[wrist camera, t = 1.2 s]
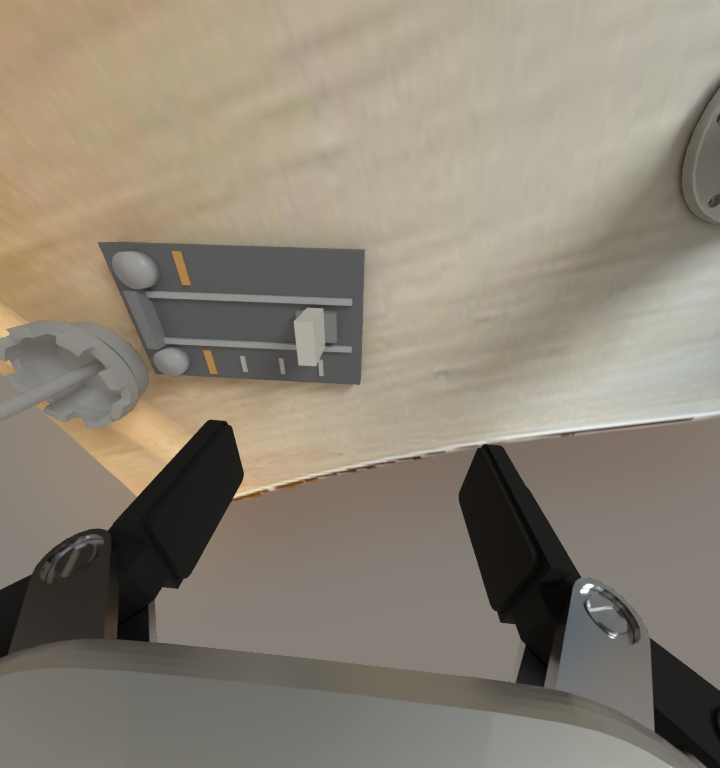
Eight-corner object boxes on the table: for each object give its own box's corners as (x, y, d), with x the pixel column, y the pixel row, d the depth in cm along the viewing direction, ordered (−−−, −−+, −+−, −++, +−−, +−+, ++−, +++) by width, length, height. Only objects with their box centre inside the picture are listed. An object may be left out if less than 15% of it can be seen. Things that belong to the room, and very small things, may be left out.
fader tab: (337, 306, 25) (327, 323, 21) (338, 343, 27) (329, 366, 23) (297, 304, 25) (279, 320, 21) (301, 342, 27) (285, 364, 23)
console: (364, 249, 24) (362, 251, 21) (360, 376, 31) (359, 391, 28) (116, 242, 25) (81, 242, 22) (167, 366, 33) (146, 379, 30)
